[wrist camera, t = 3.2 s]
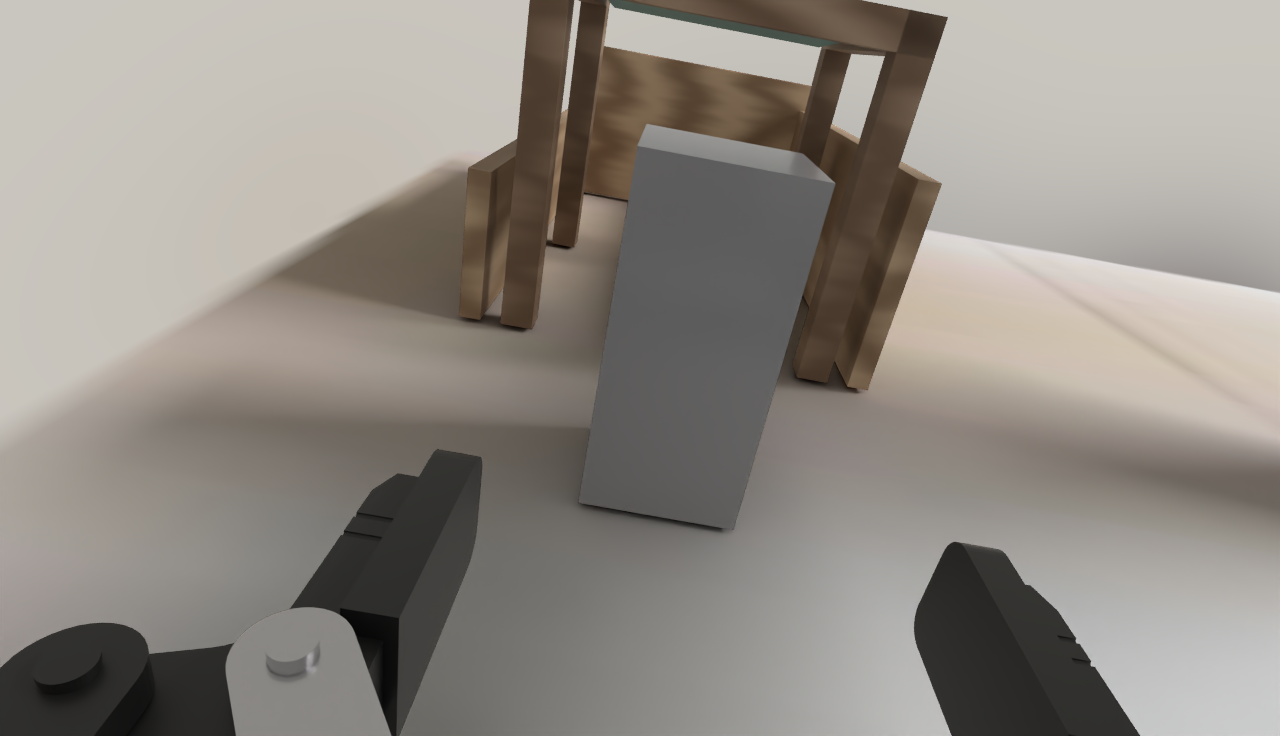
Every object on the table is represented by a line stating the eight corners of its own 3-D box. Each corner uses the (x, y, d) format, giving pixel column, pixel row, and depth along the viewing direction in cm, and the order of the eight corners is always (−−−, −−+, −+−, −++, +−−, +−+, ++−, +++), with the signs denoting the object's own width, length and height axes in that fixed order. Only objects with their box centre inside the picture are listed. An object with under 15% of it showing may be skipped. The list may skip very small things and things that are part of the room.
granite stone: (724, 446, 26) (802, 153, 21) (733, 529, 22) (835, 183, 17) (596, 423, 26) (646, 124, 21) (577, 502, 22) (637, 145, 17)
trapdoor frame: (779, 225, 63) (829, 35, 56) (867, 390, 33) (998, 27, 26) (564, 185, 62) (589, -12, 55) (458, 316, 33) (483, -75, 26)
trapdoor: (818, 47, 40) (823, 28, 39) (874, 36, 29) (881, 9, 28) (614, 7, 39) (617, -12, 39) (591, -19, 28) (594, -47, 28)
